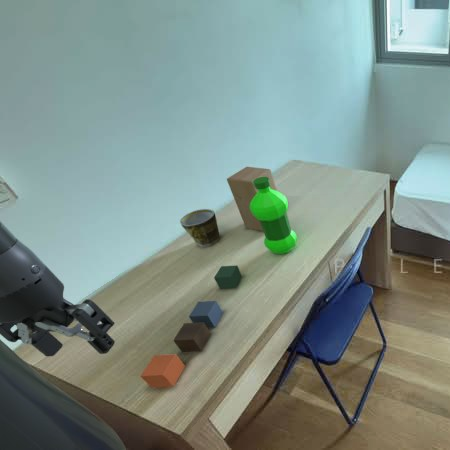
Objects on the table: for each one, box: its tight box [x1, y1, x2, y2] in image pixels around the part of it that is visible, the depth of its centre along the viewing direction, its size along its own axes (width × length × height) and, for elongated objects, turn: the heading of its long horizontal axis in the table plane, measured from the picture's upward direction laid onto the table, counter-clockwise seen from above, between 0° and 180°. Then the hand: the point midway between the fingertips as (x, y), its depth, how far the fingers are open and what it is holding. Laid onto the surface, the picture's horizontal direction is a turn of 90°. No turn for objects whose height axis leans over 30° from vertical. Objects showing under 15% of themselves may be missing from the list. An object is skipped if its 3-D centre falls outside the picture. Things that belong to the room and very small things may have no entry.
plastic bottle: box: [250, 177, 298, 255], centre depth 93 cm, size 10×10×25 cm
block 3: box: [172, 322, 212, 353], centre depth 71 cm, size 5×5×5 cm
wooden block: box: [226, 166, 278, 232], centre depth 108 cm, size 10×10×20 cm
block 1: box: [140, 353, 186, 389], centre depth 65 cm, size 5×5×5 cm
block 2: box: [188, 300, 224, 329], centre depth 77 cm, size 5×5×5 cm
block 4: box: [213, 265, 243, 290], centre depth 87 cm, size 5×5×5 cm
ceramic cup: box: [179, 208, 221, 248], centre depth 102 cm, size 13×10×10 cm
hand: (82, 350), depth 50 cm, fingers open, 8 cm apart
